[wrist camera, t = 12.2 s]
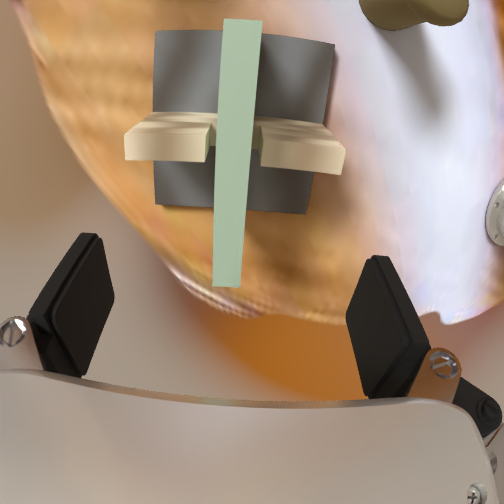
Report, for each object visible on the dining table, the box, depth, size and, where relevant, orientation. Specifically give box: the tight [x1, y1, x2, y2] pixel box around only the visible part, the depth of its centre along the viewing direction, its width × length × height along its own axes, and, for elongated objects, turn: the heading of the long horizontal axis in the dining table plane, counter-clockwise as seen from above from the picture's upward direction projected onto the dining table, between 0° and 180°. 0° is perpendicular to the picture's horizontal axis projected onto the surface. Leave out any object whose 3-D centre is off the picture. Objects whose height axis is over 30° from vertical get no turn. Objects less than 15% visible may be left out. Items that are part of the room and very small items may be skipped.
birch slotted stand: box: [124, 30, 346, 215], centre depth 26 cm, size 16×18×9 cm
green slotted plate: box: [213, 19, 263, 288], centre depth 23 cm, size 18×2×12 cm, turn 175°
